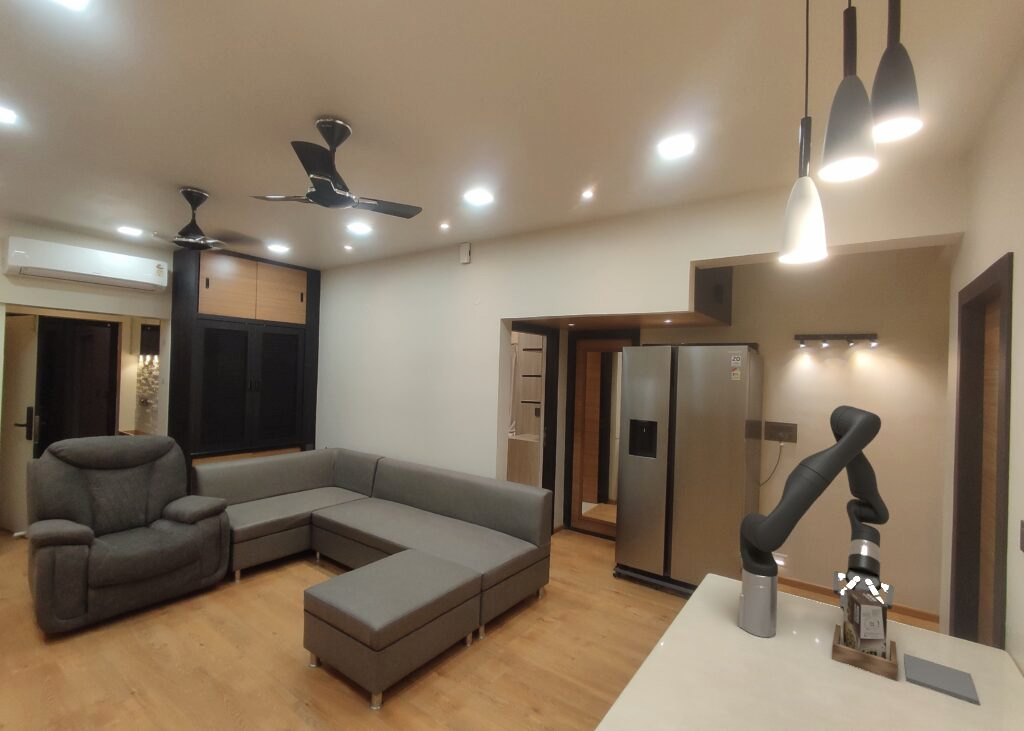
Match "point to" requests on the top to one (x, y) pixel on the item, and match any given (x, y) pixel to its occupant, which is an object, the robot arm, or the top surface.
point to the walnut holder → (865, 658)
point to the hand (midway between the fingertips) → (860, 615)
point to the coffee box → (864, 622)
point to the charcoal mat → (940, 678)
